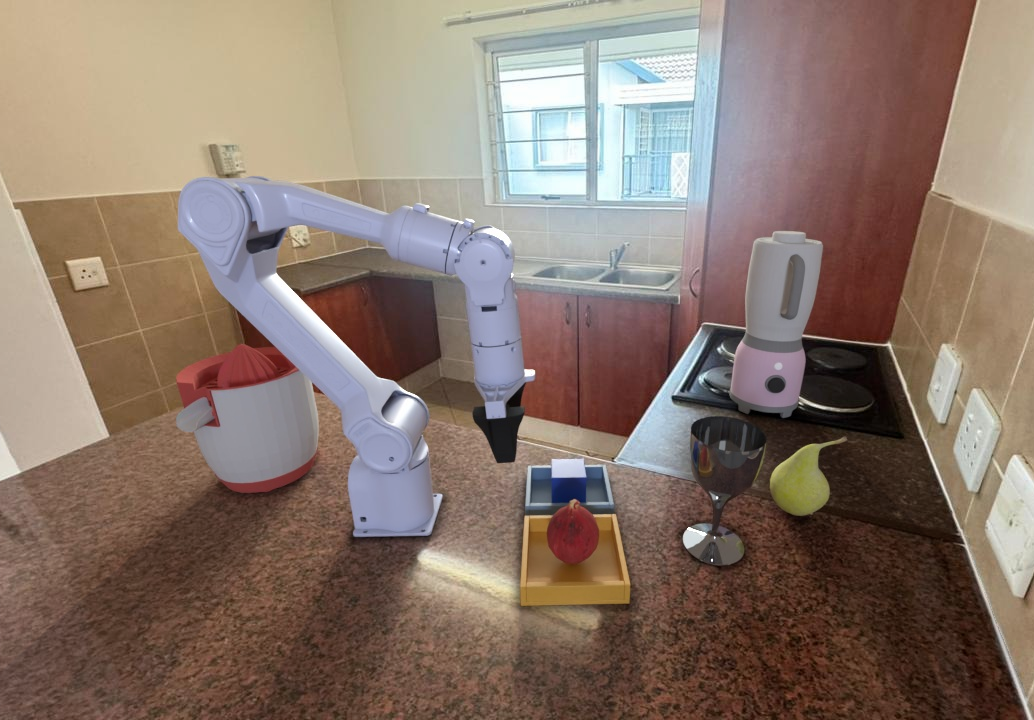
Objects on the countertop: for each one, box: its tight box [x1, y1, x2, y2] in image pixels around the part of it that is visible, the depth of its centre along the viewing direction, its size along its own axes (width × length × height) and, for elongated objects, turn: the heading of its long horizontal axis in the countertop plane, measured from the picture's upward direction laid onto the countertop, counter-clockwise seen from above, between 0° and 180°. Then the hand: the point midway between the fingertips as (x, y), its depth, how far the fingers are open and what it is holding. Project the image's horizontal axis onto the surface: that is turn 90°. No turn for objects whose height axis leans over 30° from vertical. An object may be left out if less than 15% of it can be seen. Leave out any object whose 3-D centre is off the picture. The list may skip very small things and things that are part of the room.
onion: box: [547, 499, 599, 564], centre depth 55 cm, size 6×6×8 cm
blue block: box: [550, 458, 587, 503], centre depth 67 cm, size 4×4×4 cm
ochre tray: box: [519, 513, 631, 607], centre depth 56 cm, size 11×11×2 cm
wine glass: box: [682, 415, 768, 566], centre depth 57 cm, size 8×8×15 cm
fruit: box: [769, 436, 848, 517], centre depth 64 cm, size 7×8×12 cm
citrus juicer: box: [175, 343, 320, 494], centre depth 70 cm, size 16×17×20 cm
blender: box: [729, 230, 824, 419], centre depth 88 cm, size 16×12×32 cm
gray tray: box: [524, 464, 615, 516], centre depth 67 cm, size 11×9×2 cm
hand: (508, 444), depth 61 cm, fingers open, 7 cm apart
